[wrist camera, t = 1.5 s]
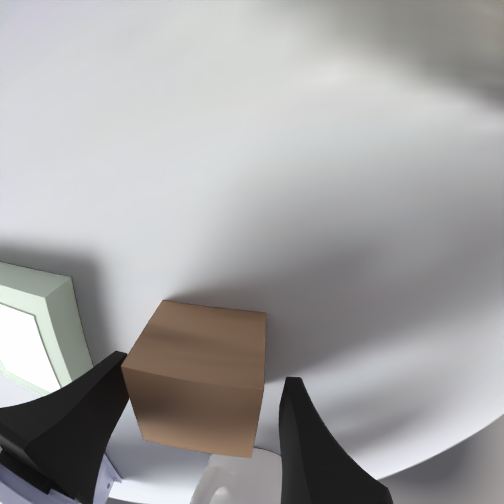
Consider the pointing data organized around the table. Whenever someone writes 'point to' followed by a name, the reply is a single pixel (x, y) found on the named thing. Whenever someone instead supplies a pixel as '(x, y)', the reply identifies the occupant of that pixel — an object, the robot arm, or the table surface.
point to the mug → (241, 480)
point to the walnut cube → (199, 378)
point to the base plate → (40, 330)
